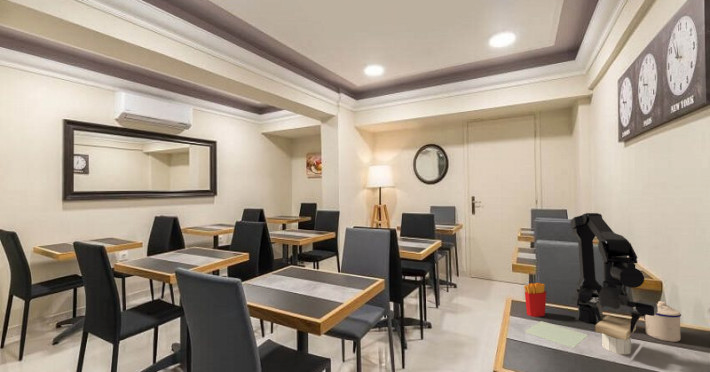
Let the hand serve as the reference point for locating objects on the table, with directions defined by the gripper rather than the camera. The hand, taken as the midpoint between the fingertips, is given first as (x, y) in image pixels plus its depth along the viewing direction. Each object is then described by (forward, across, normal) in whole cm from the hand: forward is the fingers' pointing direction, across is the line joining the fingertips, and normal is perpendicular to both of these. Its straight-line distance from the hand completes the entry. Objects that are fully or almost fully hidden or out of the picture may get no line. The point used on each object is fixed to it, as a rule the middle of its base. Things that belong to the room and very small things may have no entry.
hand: (615, 328), depth 100 cm
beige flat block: (+1, 0, 0) cm, 1 cm away
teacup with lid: (+7, +6, +25) cm, 27 cm away
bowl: (+7, 0, 0) cm, 7 cm away
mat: (+7, -16, -3) cm, 18 cm away
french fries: (+7, -28, +9) cm, 30 cm away
